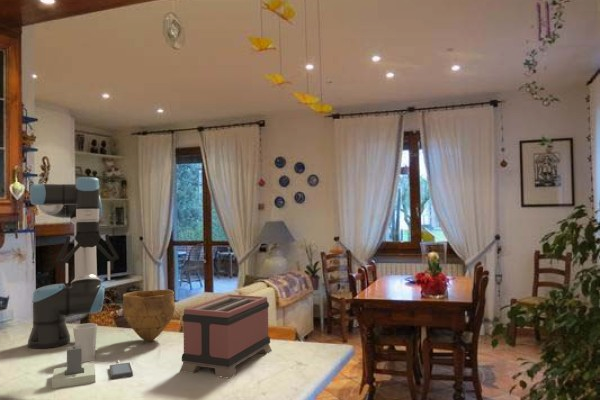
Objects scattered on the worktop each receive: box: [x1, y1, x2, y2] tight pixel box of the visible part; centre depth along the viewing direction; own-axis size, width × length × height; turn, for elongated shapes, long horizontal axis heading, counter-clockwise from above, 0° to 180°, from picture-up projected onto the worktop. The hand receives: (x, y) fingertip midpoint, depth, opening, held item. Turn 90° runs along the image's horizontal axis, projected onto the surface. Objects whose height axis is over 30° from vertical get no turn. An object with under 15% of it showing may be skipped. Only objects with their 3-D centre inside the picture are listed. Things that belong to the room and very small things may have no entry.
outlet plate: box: [51, 362, 96, 389], centre depth 155 cm, size 12×12×3 cm
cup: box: [72, 322, 98, 363], centre depth 175 cm, size 8×8×12 cm
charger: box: [66, 345, 83, 375], centre depth 155 cm, size 4×4×10 cm
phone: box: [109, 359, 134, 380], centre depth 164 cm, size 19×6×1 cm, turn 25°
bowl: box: [122, 289, 176, 342], centre depth 198 cm, size 21×20×20 cm
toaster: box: [179, 293, 273, 379], centre depth 173 cm, size 19×34×21 cm, turn 158°
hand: (88, 281), depth 171 cm, fingers open, 13 cm apart
